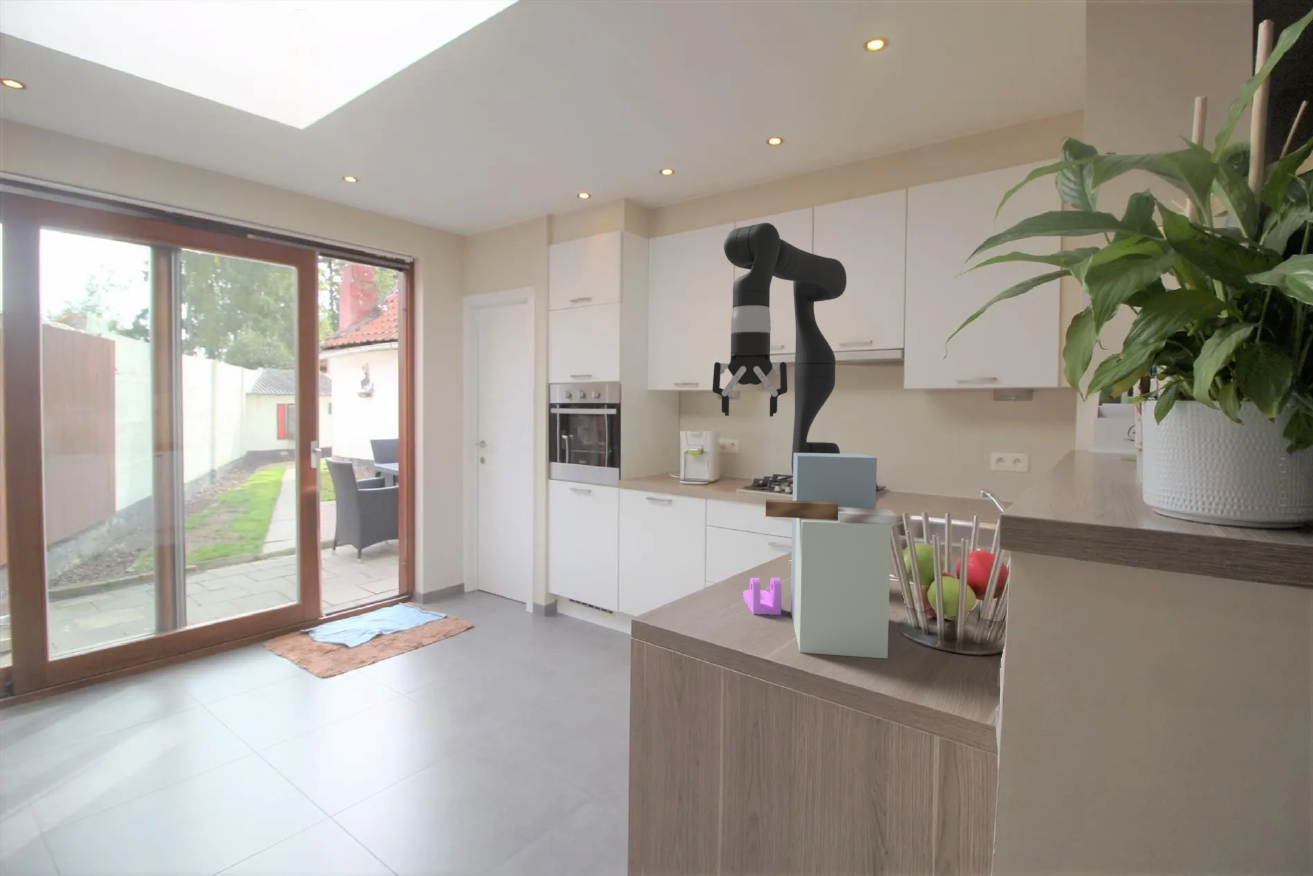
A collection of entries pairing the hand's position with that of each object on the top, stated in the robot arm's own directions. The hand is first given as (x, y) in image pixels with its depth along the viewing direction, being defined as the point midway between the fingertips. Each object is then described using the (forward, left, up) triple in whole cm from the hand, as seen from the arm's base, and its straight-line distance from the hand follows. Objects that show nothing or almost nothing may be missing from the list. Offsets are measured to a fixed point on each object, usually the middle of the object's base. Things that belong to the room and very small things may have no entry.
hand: (749, 416), depth 116 cm
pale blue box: (+13, +11, -39) cm, 43 cm away
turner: (+18, +6, -17) cm, 25 cm away
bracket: (-5, +6, -40) cm, 41 cm away
